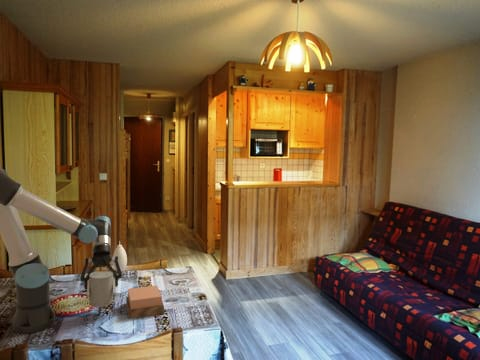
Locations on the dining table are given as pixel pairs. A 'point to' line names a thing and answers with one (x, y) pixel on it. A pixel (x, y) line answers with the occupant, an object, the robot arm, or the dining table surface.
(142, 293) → the brown square block
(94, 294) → the grey cylinder
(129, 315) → the tower base
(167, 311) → the dining table surface
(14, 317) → the robot arm
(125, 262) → the cream ovoid candle
